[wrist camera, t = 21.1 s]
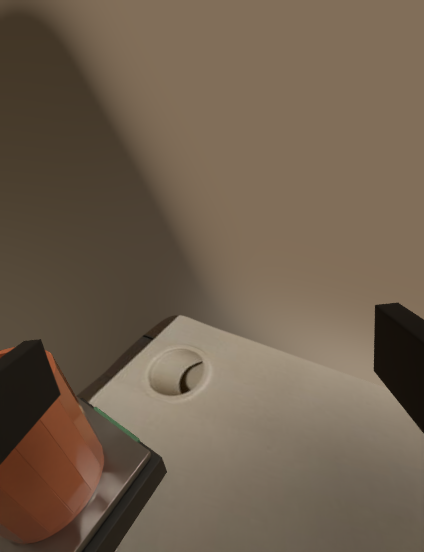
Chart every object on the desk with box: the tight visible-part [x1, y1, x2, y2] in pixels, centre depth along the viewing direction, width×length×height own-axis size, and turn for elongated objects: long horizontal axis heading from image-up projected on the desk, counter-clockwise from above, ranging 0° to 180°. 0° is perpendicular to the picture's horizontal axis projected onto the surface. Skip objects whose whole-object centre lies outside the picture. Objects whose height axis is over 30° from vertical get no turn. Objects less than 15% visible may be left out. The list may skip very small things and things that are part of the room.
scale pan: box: [0, 396, 152, 552], centre depth 20 cm, size 10×10×1 cm
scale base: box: [81, 398, 167, 552], centre depth 21 cm, size 11×11×3 cm
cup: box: [0, 347, 104, 544], centre depth 17 cm, size 7×7×10 cm
